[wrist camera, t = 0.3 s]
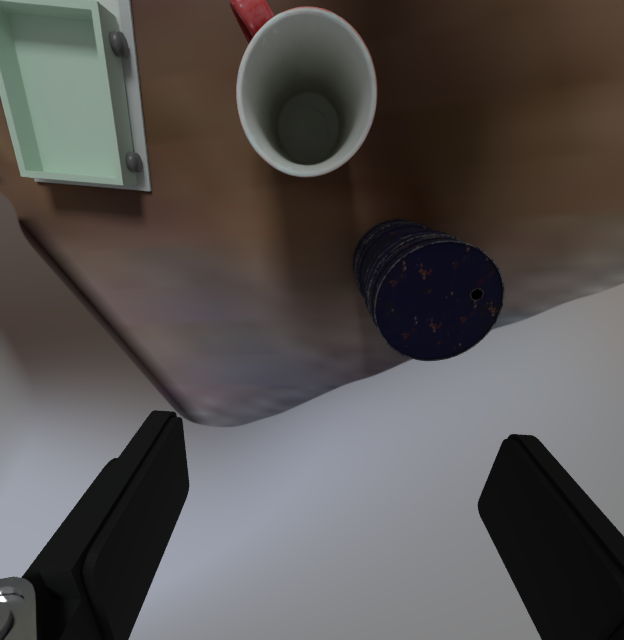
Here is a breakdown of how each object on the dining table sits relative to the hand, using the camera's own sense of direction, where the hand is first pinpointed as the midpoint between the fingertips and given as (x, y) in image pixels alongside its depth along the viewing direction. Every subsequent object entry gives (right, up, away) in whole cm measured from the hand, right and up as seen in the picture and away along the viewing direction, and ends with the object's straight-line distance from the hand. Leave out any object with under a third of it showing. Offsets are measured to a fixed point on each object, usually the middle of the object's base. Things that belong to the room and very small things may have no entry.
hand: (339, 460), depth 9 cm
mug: (-2, +25, +23) cm, 34 cm away
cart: (-24, +26, +22) cm, 42 cm away
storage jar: (+9, +11, +28) cm, 32 cm away
